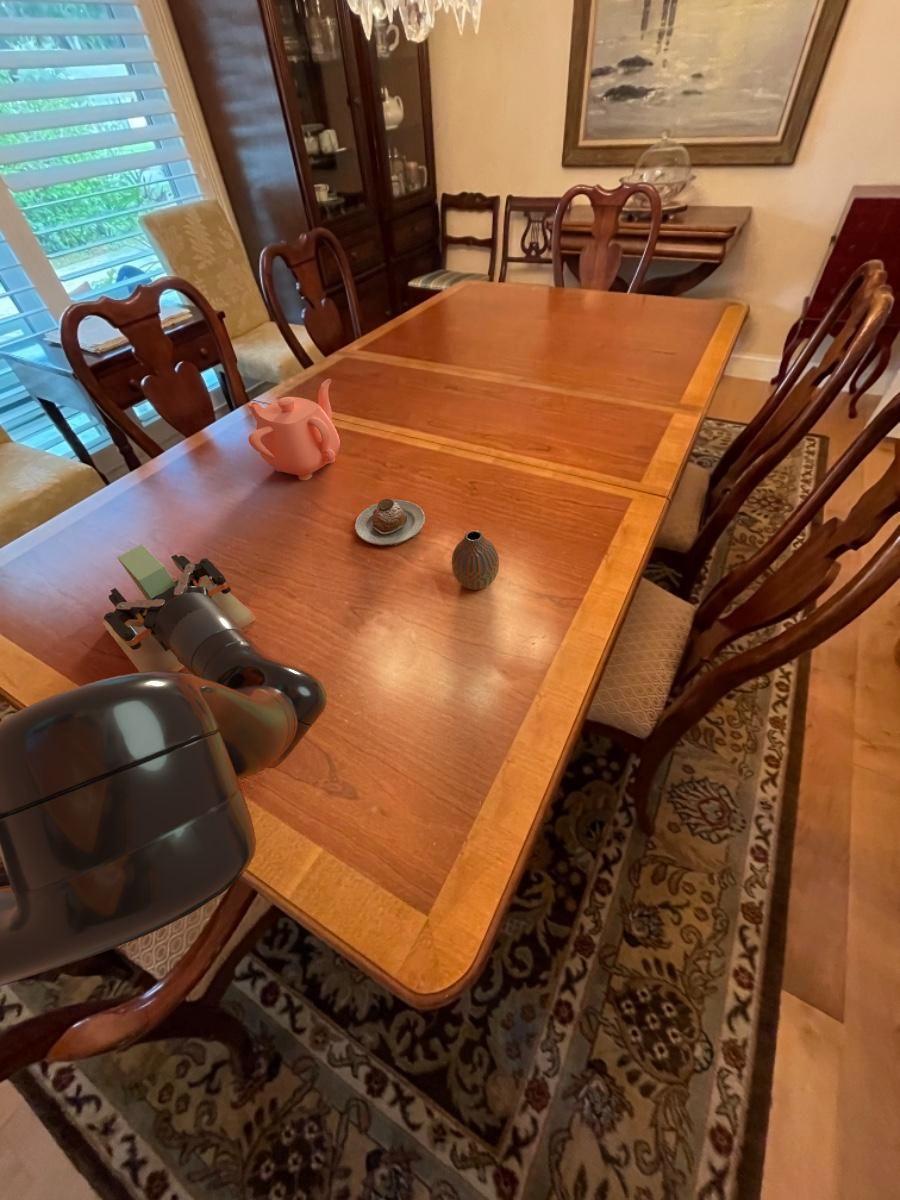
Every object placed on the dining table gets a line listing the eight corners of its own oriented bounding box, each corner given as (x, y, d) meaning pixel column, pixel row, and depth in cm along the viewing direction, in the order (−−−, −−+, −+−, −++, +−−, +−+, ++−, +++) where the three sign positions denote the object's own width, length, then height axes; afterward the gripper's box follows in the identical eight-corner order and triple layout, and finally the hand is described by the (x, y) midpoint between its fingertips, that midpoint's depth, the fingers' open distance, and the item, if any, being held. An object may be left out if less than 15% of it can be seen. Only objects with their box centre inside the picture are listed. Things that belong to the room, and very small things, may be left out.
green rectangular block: (177, 636, 75) (138, 580, 67) (156, 612, 79) (116, 557, 71) (199, 622, 77) (164, 566, 69) (178, 599, 81) (142, 543, 73)
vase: (500, 595, 78) (499, 550, 72) (453, 598, 78) (448, 553, 72) (498, 563, 83) (497, 518, 76) (453, 566, 83) (449, 521, 77)
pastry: (414, 498, 96) (411, 476, 93) (434, 537, 88) (431, 515, 85) (350, 515, 94) (344, 493, 91) (364, 557, 86) (358, 534, 83)
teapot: (265, 451, 112) (242, 388, 103) (344, 435, 114) (329, 373, 105) (265, 493, 101) (240, 427, 92) (353, 475, 103) (338, 409, 94)
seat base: (152, 688, 71) (139, 672, 69) (107, 629, 80) (94, 613, 77) (255, 619, 78) (247, 603, 76) (204, 572, 87) (195, 555, 84)
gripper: (243, 581, 65) (182, 529, 73) (130, 652, 58) (77, 585, 67) (263, 622, 70) (205, 569, 79) (162, 691, 64) (109, 624, 72)
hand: (146, 576), depth 73 cm, fingers open, 8 cm apart
